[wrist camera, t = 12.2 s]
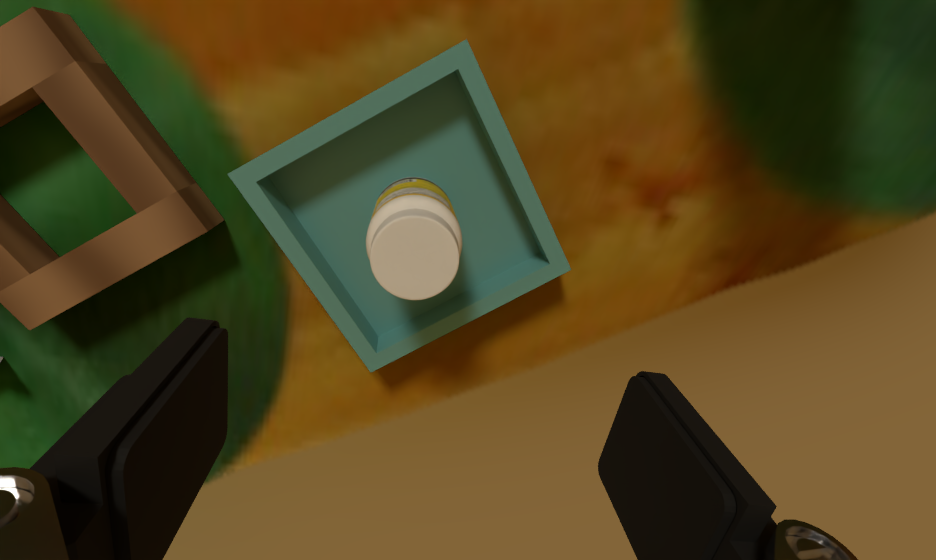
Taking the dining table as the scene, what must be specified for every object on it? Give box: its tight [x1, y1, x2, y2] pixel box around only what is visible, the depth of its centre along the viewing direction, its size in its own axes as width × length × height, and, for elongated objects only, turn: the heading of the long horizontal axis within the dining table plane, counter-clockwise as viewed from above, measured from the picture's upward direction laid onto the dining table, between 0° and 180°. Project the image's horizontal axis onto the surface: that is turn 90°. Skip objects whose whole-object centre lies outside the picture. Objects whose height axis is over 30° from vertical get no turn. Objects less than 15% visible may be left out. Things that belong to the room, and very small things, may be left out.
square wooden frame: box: [0, 7, 224, 330], centre depth 25 cm, size 12×12×2 cm
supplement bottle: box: [366, 177, 462, 300], centre depth 25 cm, size 5×5×8 cm
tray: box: [228, 39, 571, 372], centre depth 28 cm, size 14×14×3 cm
